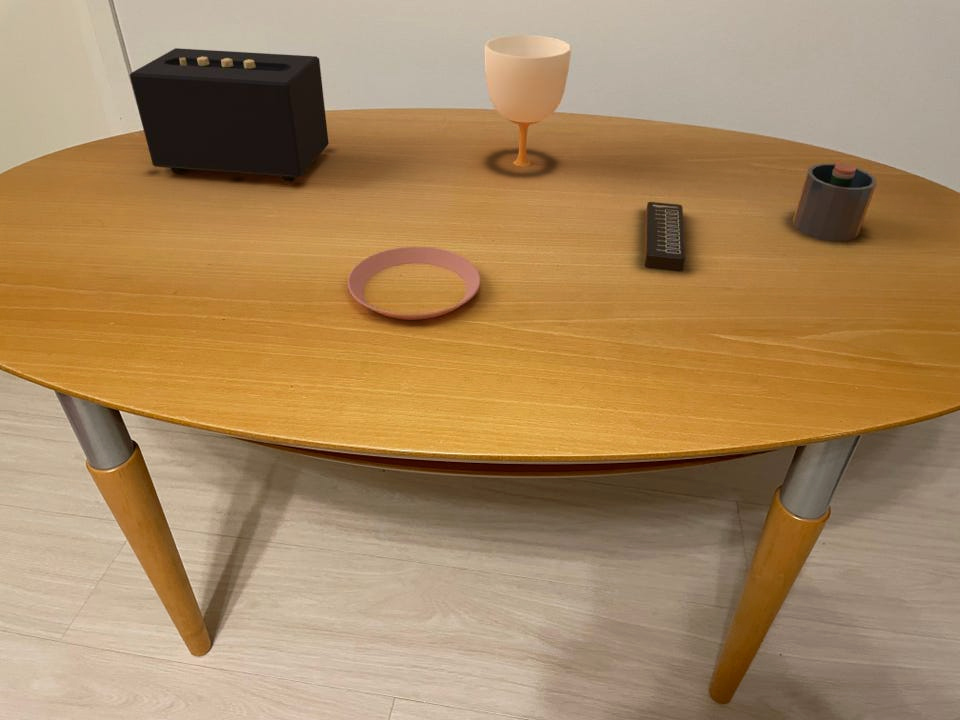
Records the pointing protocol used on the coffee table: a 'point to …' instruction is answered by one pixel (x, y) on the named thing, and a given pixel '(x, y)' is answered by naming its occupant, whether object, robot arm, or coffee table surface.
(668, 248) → the dark brown flat block
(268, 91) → the speaker
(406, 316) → the ring
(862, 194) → the pen cup
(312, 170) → the coffee table surface
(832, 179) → the pencil
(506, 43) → the cup
